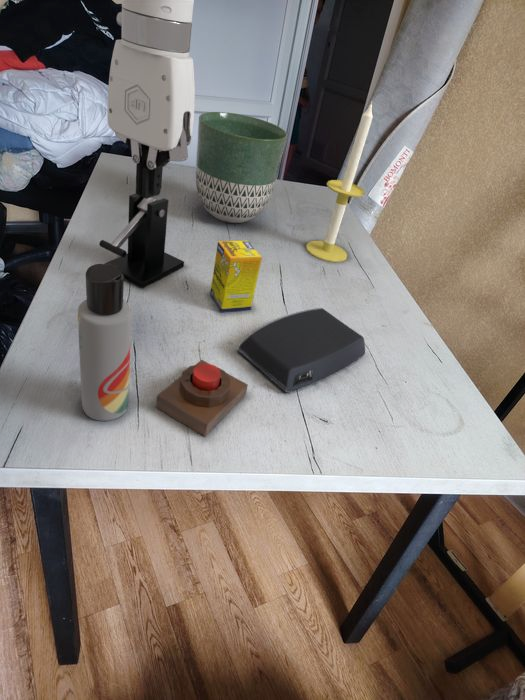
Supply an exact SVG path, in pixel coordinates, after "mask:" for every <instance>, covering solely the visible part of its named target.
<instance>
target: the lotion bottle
mask: <svg viewBox="0 0 525 700" xmlns="http://www.w3.org/2000/svg"><path fill="white" fill-rule="evenodd" d="M124 283H125V279H124V275H123V273H122V272H121V271H120V269H119V268H118V267H117V266H115V265H112V264H105V263H95V264H92V265H91V266H89V267H88V268H87V269H86V272H85V293H86V295H85V296H86V297H85V299H84V300H83V301H82V302H81V303H80V304H79V305H78V308H77V325H78V326H77V330H78V331H77V332H78V350H79V351H78V353H79V371H80V394H81V395H80V396H81V406H82V407H81V408H82V410H83V412H84V413H85V414H86V416H88V417H89V418H90V419H93V420H96V421H102V422H108V421H112V420H116V419H118V418H120V417H121V416H122V415H124V414H125V412H126V411H127V409H128V408H129V407H128V406H129V400H130V399H129V397H130V372H131V371H130V370H131V347H132V346H131V345H132V344H131V343H132V342H131V341H132V307H131V306H130V304H129V303H128V302H126V301H125V300H124V288H125V287H124Z"/></svg>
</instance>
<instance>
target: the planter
mask: <svg viewBox="0 0 525 700" xmlns="http://www.w3.org/2000/svg"><path fill="white" fill-rule="evenodd" d="M197 124H198V125H197V142H196V143H197V145H196V160H195V161H196V163H195V186H196V191H197V192H196V193H197V196H198V198H199V201H200V203H201V205H202V206H203V207H204V209H205V210H206V211H207V212H208V213H209V214H210V215H211V216H213V217H214V218H215V219H217V220H219V221H222V222H225V223H230V224H241V223H245V222H248V221H250V220H252V219H254V218H256V217H257V216H259V215H260V214H261V213H262V212H263V211H264V210H265V208H266V207H267V205H268V203H269V201H270V199H271V197H272V194H273V191H274V189H275V184H276V180H277V178H278V177H277V176H278V173H279V171H280V170H279V169H280V165H281V163H282V158H283V155H284V152H285V147H286V142H287V139H288V133H287V132H286V130H285V129H284V128H282V127H280V126H278V125H276V124H275V123H272V122H269V121H267V120H264V119H261V118H258V117H253V116H249V115H245V114H239V113H233V112H225V111H224V112H223V111H211V112H210V111H208V112H204V113H201V114H199V116H198V123H197Z"/></svg>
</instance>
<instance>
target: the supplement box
mask: <svg viewBox="0 0 525 700" xmlns="http://www.w3.org/2000/svg"><path fill="white" fill-rule="evenodd" d="M216 245H217V246H216V250H215V251H216V252H215V259H214V265H213V272H212V278H211V285H210V291H209V295H210V296H211V298H212V299H213V301H214V302H215V304H216V306H217V307H218V310H219V311H220V313H233V312H241V311H243V312H244V311H251V310H252V305H253V301H254V295H255V291H256V287H257V283H258V277H259V273H260V269H261V264H262V260H263V257H262V256H261V254H259V252H258V251H257V250H256V249H255V247H254V246H253V245H252V243H251V242H250V241H249V240H248V239H247V240H246V239H245V240H219V241H217V243H216Z"/></svg>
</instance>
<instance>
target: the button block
mask: <svg viewBox="0 0 525 700" xmlns="http://www.w3.org/2000/svg"><path fill="white" fill-rule="evenodd" d="M200 364H210V362H207V361H205V360H204V359H201V360H199V361H198V362H197V363H196V364H194V365H189V366H188V367H187V368H186V369H185V370H182V372H181V376H179V377H178V378H177V379H176V380H175V381H173V382H172V383H171V384H170V385H168V386H167V387H166V388H164V390H162V391H161V392H159V393H158V394H157V395H156V402H155V408H156V409H158V410H160V411H161V412H162V413H164V414H166V415H168V416H169V417H171V418H173V419H175V420H176V421H178V422H180V423H182V424H183V425H184V426H186V427H188V428H189V429H192V430H193V431H195V432H197V433H198V434H200V435H201V436H203V437H206V436H208V435H209V434H210V432H211V431H212V430H213V429H215V428H216V426H217V425H218V424H219V423H220V422H221V421H222V420H224V418H225V417H226V416H227V415H228V414H229V413H230V412H232V410H233V409H234V408H235V407H236V406H237V405H238V404H239V403H240V402H241V401H242V400H243V399H244V398H245V397H246V395H247V390H248V385H249V384H247V383H246V382H245V381H243V380H241V379H238V378H236V377H235V376H233V375H231V374H229V373H227V372H226V371H225V370H224V369H222V368H220V367H219V366H216V367H217V368H218V369H219V370H220V372H221V376H220V381H219V386H218V387H217V388H216V389H215V390H212V391H203V390H199V389H198V388H196V387H194V385H193V383H192V377H193V370H194V368H195V367H196V366H197V365H200Z"/></svg>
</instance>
